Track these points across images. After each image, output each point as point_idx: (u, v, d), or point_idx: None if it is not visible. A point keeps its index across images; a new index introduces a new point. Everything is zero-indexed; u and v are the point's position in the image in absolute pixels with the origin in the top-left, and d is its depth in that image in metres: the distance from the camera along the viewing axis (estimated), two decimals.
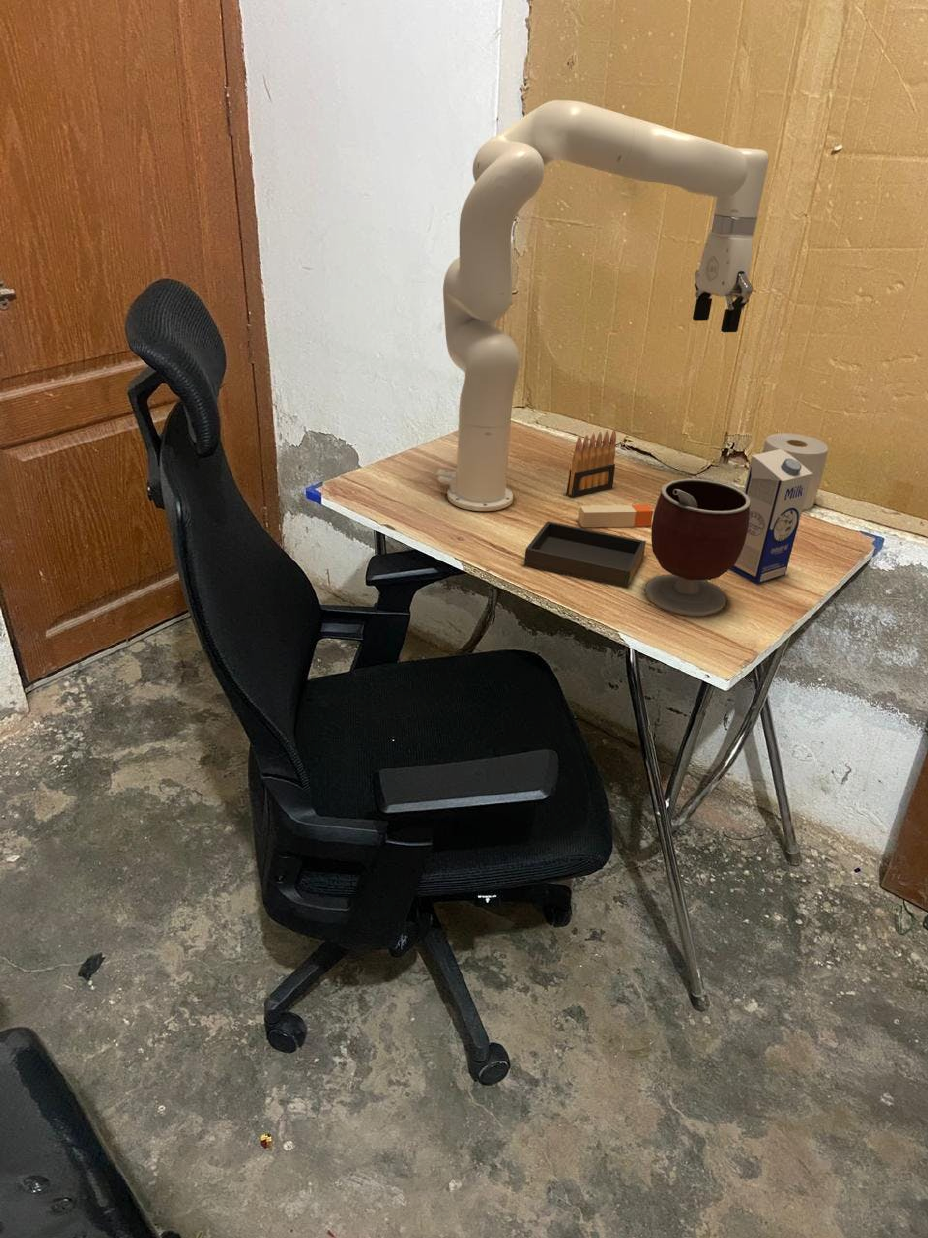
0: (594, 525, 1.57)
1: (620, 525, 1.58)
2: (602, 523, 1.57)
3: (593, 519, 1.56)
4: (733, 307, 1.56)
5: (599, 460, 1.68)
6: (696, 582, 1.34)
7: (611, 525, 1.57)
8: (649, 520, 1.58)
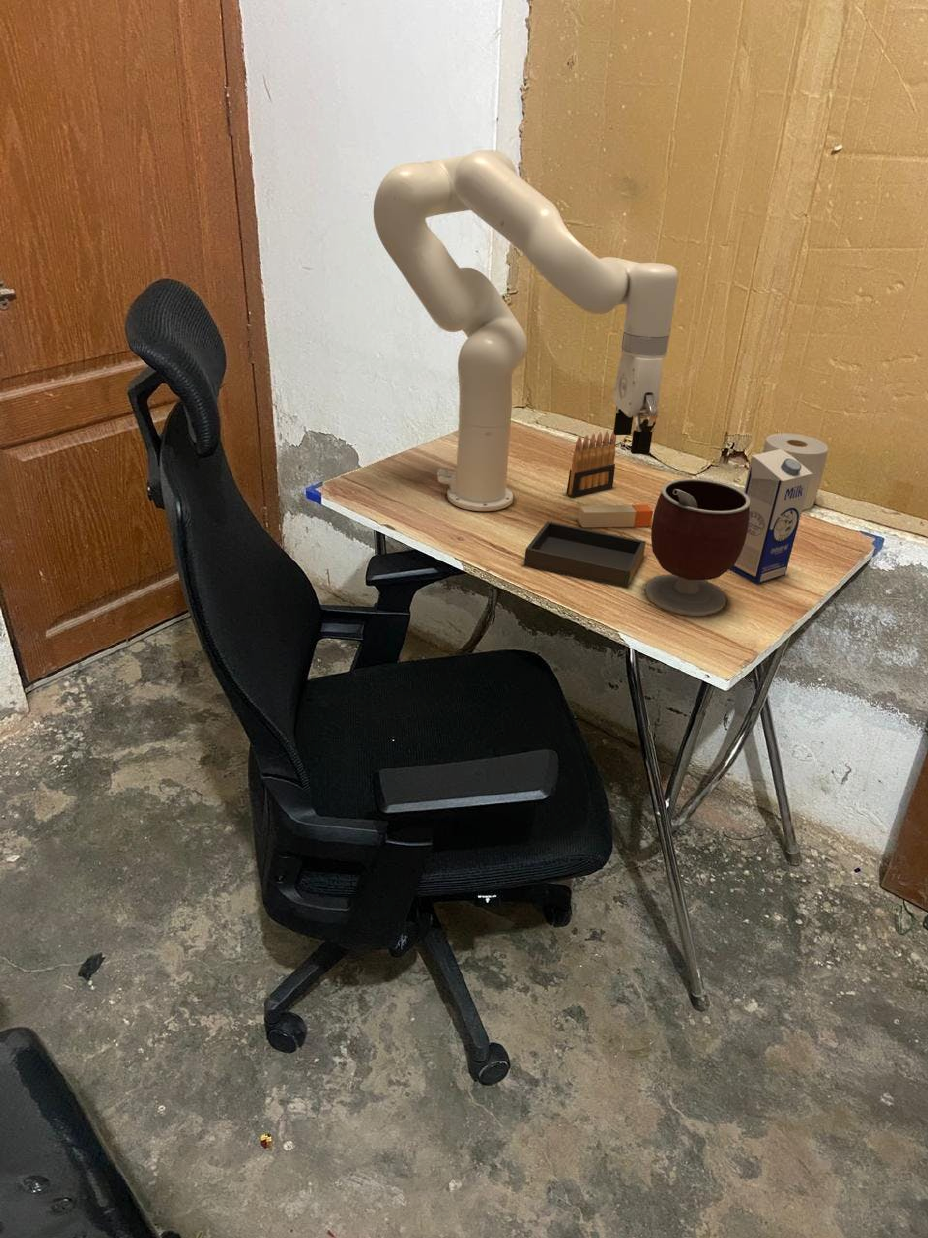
0: (594, 525, 1.57)
1: (620, 525, 1.58)
2: (602, 523, 1.57)
3: (593, 519, 1.56)
4: (640, 429, 1.44)
5: (599, 460, 1.68)
6: (696, 582, 1.34)
7: (611, 525, 1.57)
8: (649, 520, 1.58)
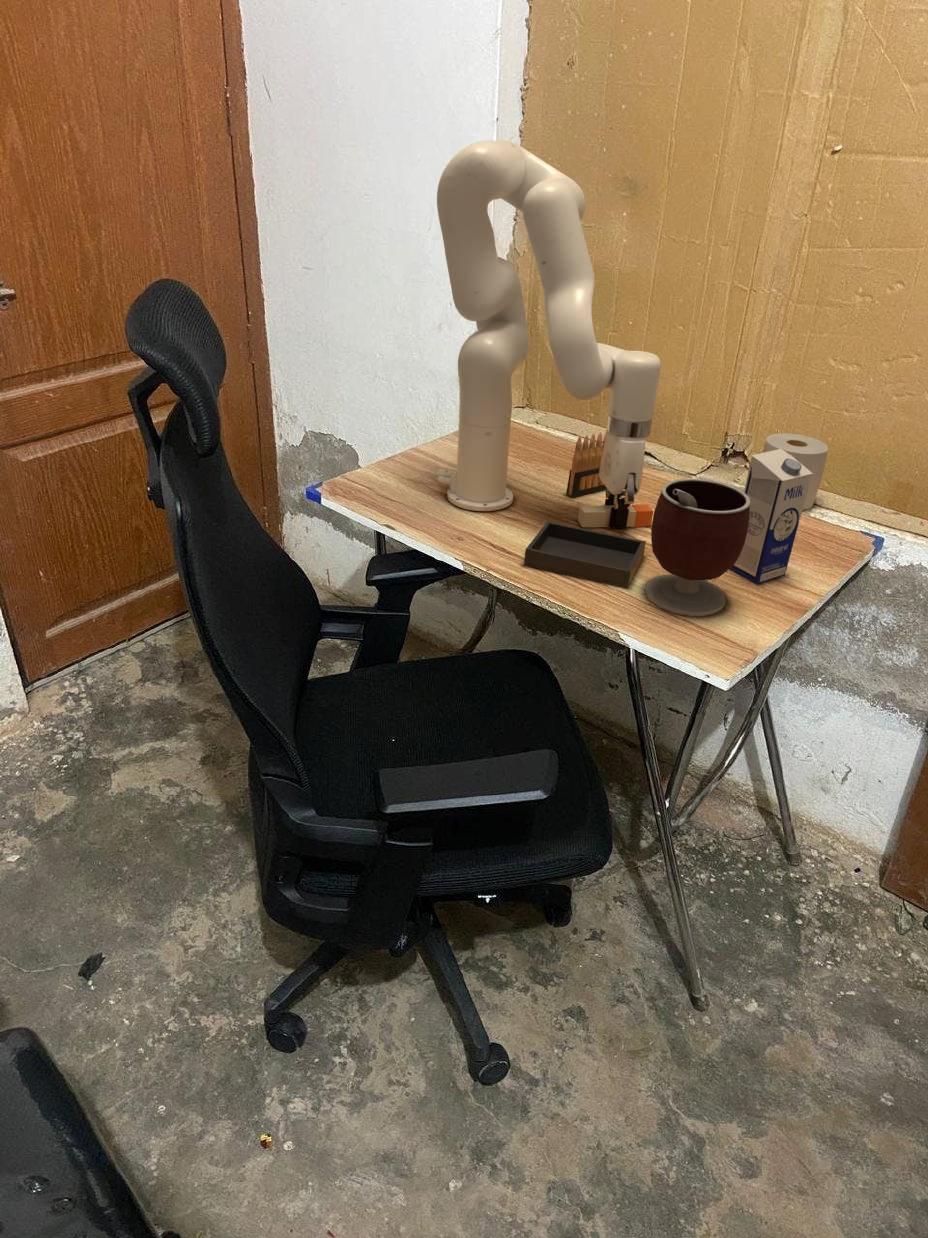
0: (594, 525, 1.57)
1: None
2: (602, 523, 1.57)
3: (593, 519, 1.56)
4: (617, 507, 1.54)
5: (599, 460, 1.68)
6: (696, 582, 1.34)
7: None
8: (649, 520, 1.58)
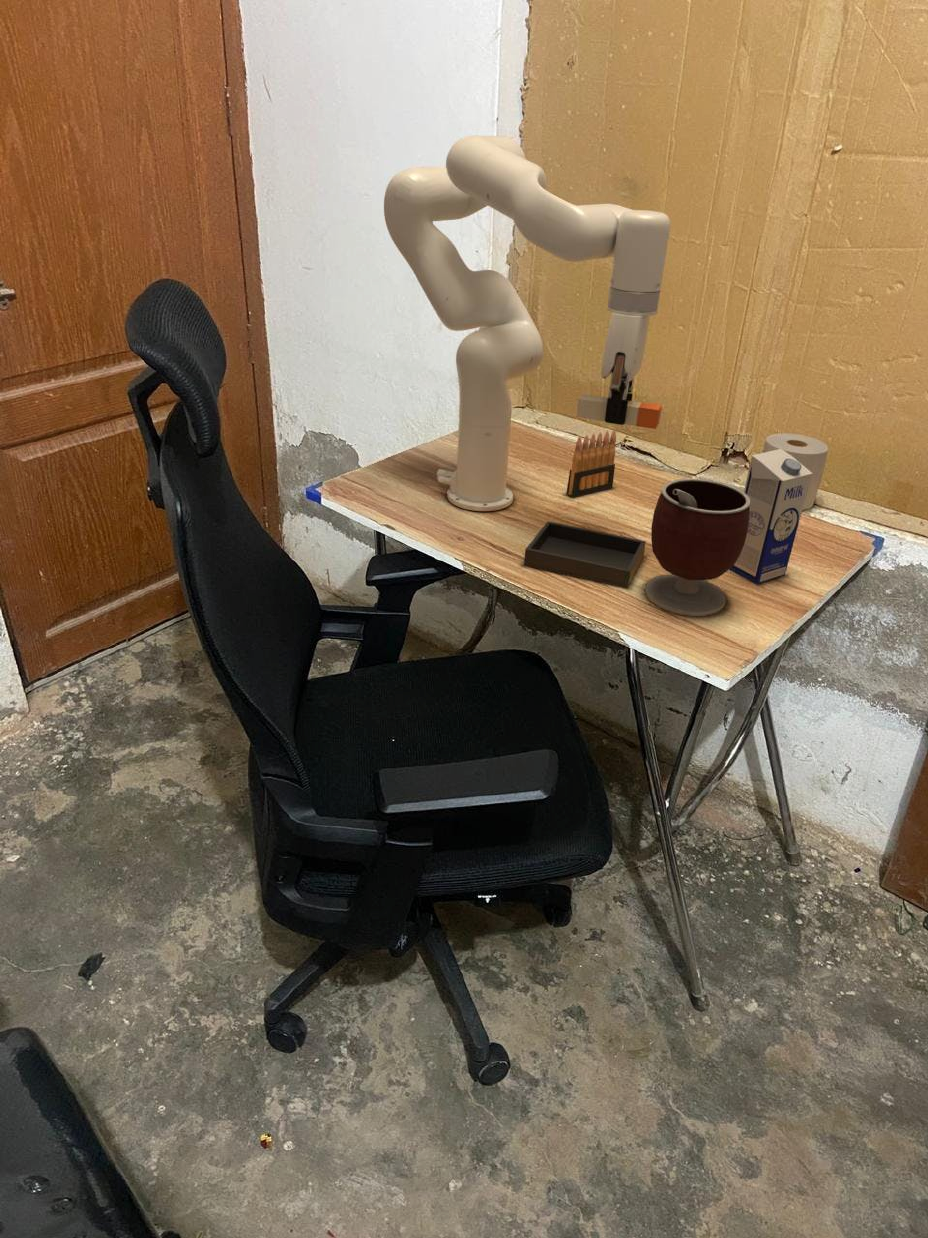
0: (590, 416, 1.40)
1: None
2: (599, 415, 1.39)
3: (589, 408, 1.39)
4: (610, 396, 1.35)
5: (599, 460, 1.68)
6: (696, 582, 1.34)
7: None
8: (654, 421, 1.36)
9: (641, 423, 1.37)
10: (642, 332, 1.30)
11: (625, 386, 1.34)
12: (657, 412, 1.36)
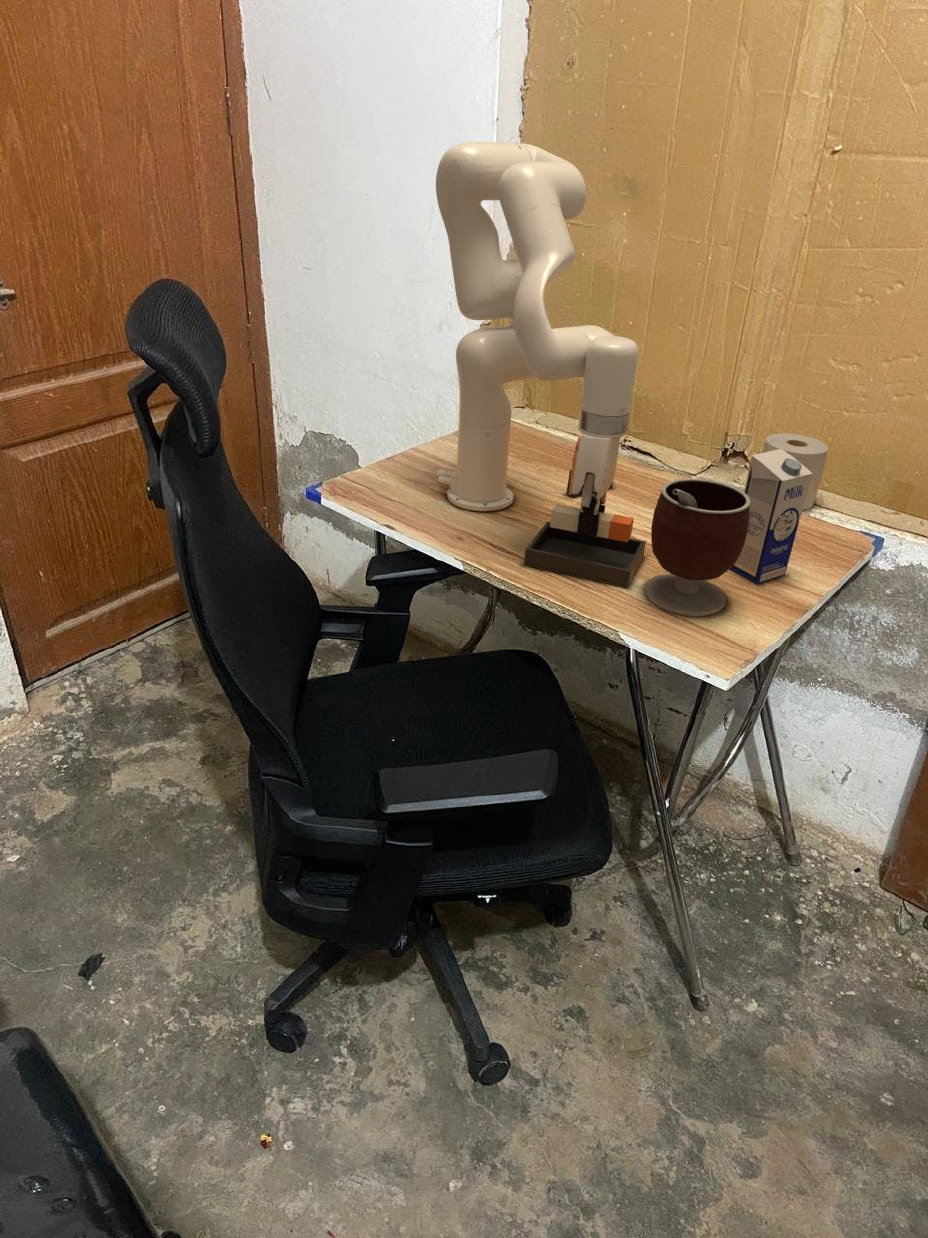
0: (563, 527, 1.42)
1: None
2: (572, 527, 1.41)
3: (562, 520, 1.41)
4: (582, 510, 1.37)
5: None
6: (696, 582, 1.34)
7: None
8: (625, 535, 1.38)
9: (613, 536, 1.39)
10: (612, 452, 1.32)
11: (596, 502, 1.36)
12: (628, 527, 1.37)
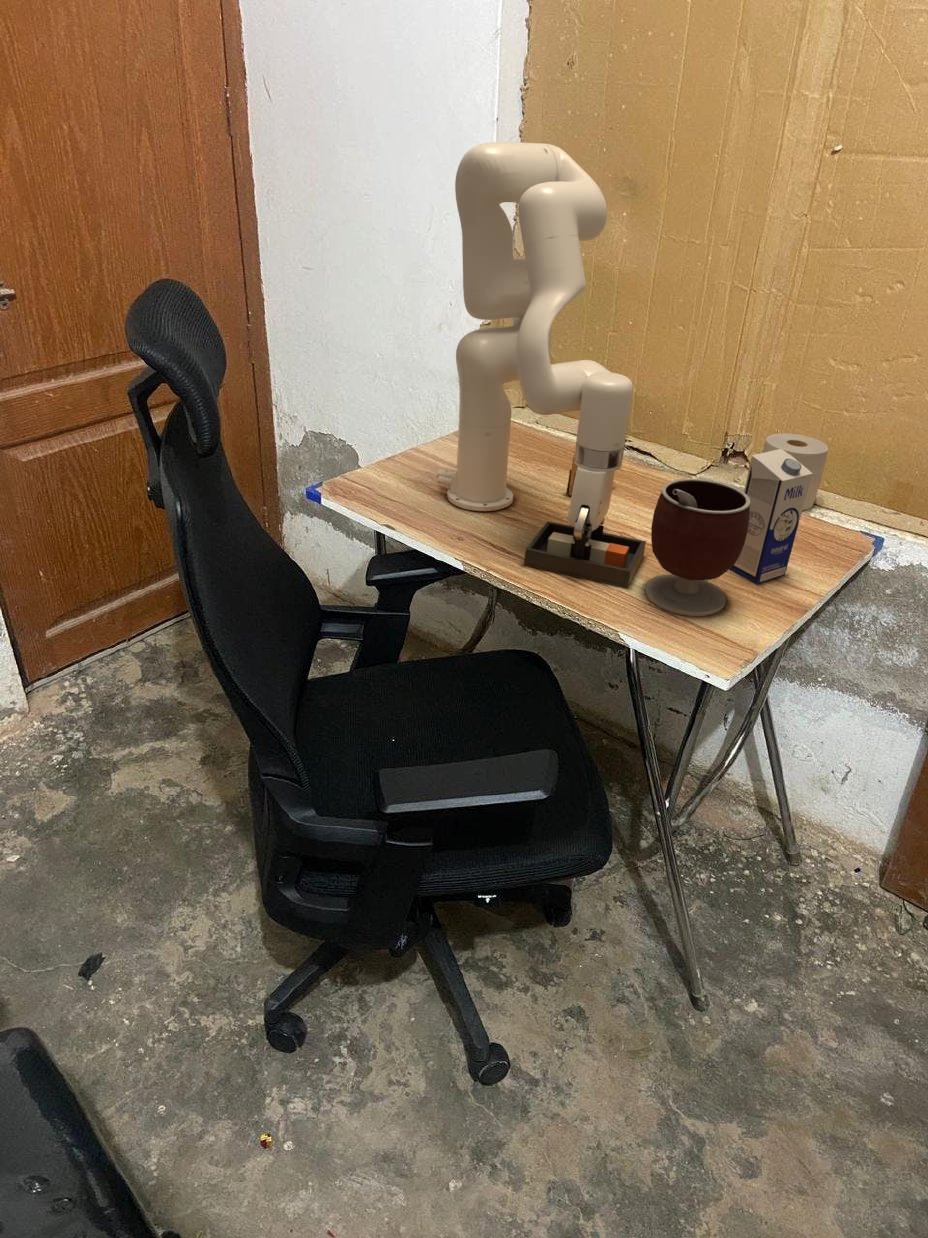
0: None
1: None
2: (568, 555, 1.44)
3: (558, 548, 1.44)
4: (574, 542, 1.38)
5: None
6: (696, 582, 1.34)
7: None
8: (620, 564, 1.41)
9: None
10: (606, 485, 1.35)
11: (589, 532, 1.37)
12: (623, 556, 1.40)
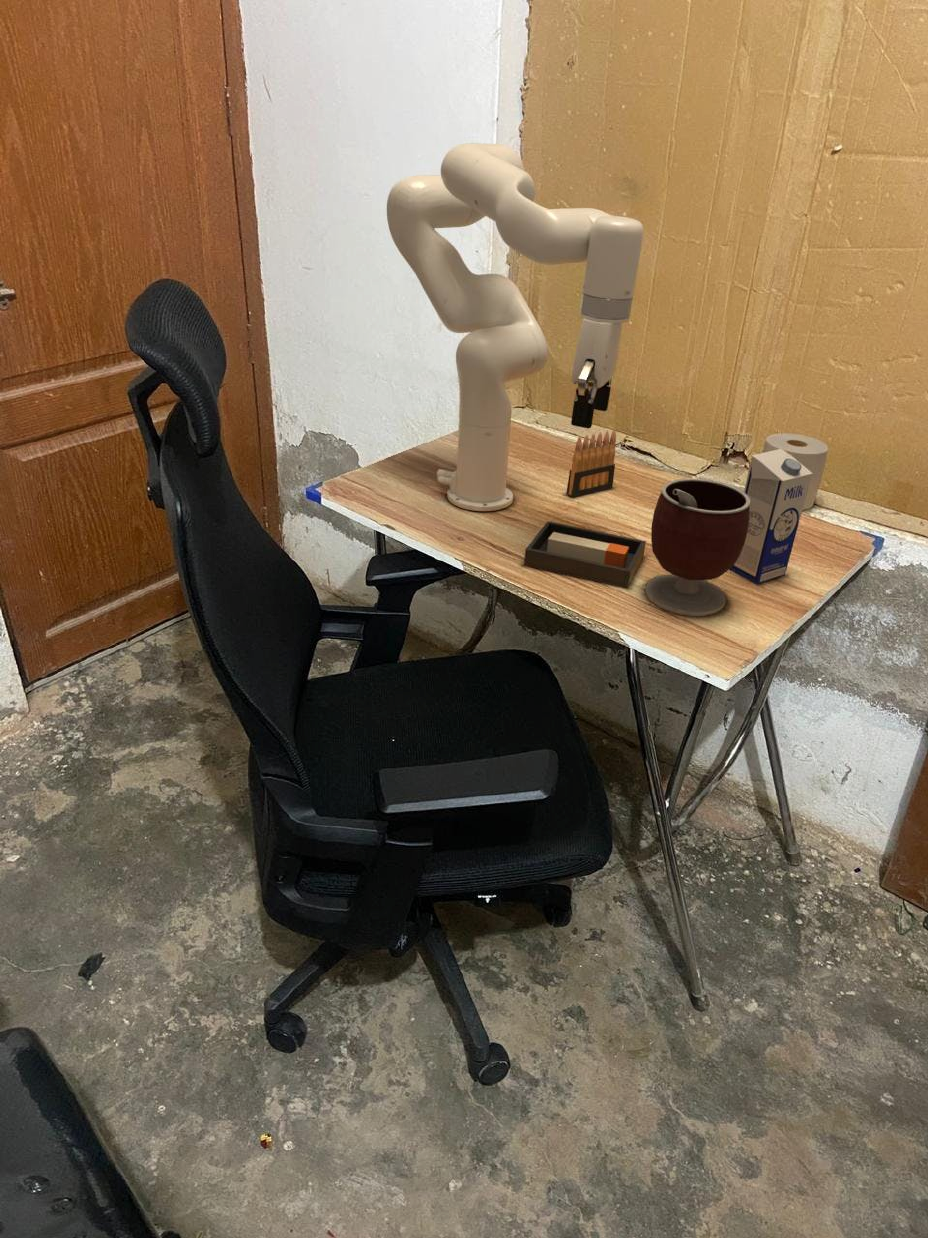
0: None
1: None
2: (568, 555, 1.44)
3: (558, 548, 1.44)
4: (576, 398, 1.32)
5: (599, 460, 1.68)
6: (696, 582, 1.34)
7: None
8: (620, 564, 1.41)
9: None
10: (613, 339, 1.30)
11: (593, 388, 1.31)
12: (623, 556, 1.40)
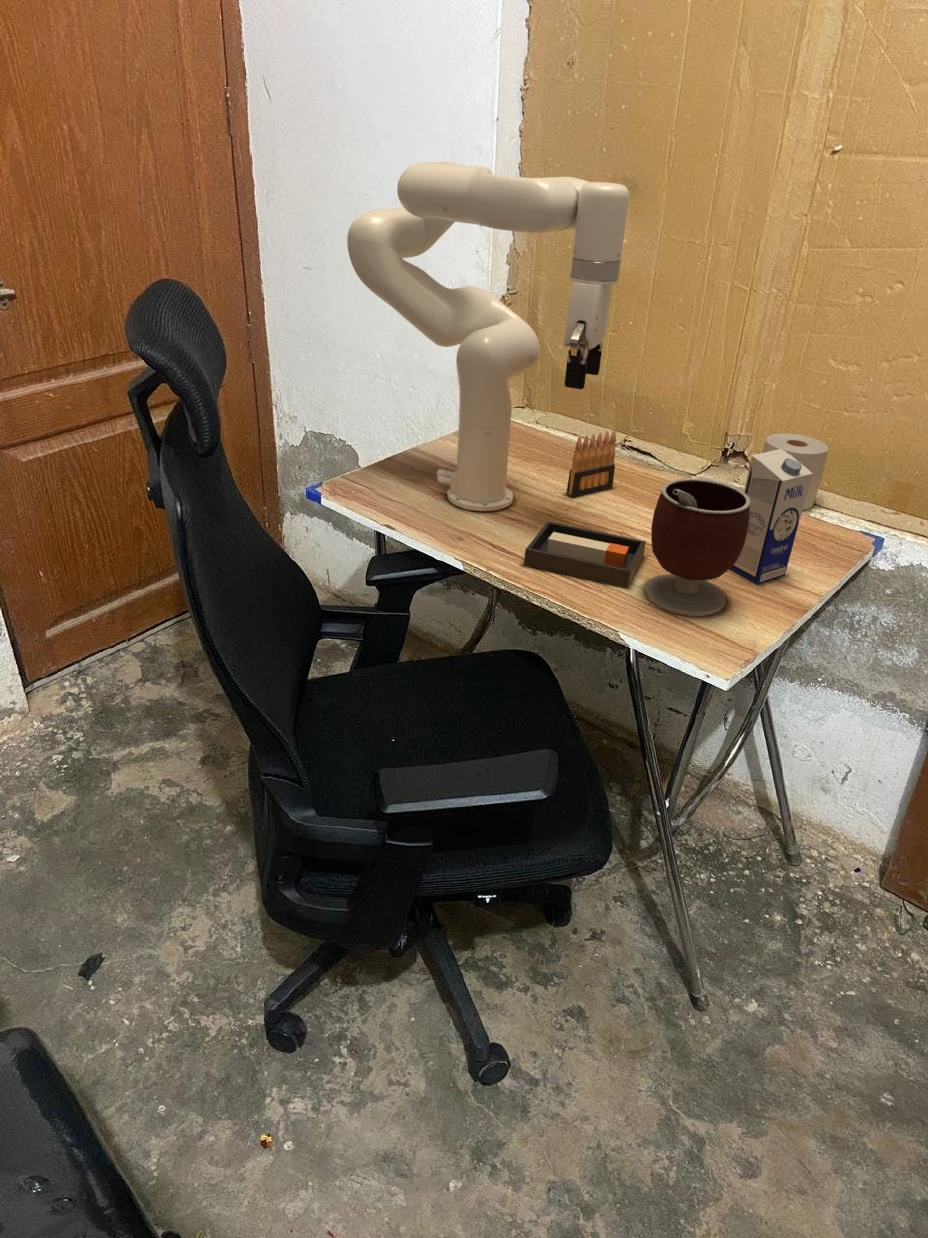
0: None
1: None
2: (568, 555, 1.44)
3: (558, 548, 1.44)
4: (569, 360, 1.37)
5: (599, 460, 1.68)
6: (696, 582, 1.34)
7: None
8: (620, 564, 1.41)
9: None
10: (603, 301, 1.34)
11: (585, 349, 1.36)
12: (623, 556, 1.40)
